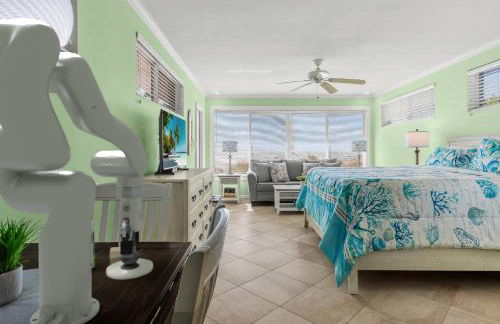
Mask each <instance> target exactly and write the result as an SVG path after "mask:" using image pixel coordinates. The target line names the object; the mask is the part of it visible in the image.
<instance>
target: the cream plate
mask: <svg viewBox="0 0 500 324" xmlns="http://www.w3.org/2000/svg"><path fill="white" fill-rule="evenodd" d="M136 263H138V264H139V267H137V268H135V269H131V270H123V269H121V266H122V265H123V264H124V263H123V262H122V261H119V262H116V263H112V264H109V266H107V267H106V270H105V273H106V277H108V278H110V279H114V280H131V279H136V278H137V279H138V278H140V277H143V276H145V275H148V274H149V273H151V272H152V270H153V269H154V263H153V261H152V260H150V259H146V258H139V259H138V261H137V262H136Z"/></svg>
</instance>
